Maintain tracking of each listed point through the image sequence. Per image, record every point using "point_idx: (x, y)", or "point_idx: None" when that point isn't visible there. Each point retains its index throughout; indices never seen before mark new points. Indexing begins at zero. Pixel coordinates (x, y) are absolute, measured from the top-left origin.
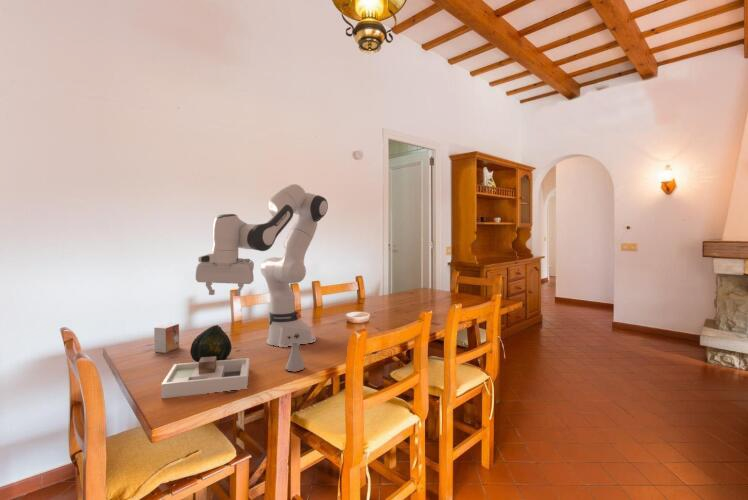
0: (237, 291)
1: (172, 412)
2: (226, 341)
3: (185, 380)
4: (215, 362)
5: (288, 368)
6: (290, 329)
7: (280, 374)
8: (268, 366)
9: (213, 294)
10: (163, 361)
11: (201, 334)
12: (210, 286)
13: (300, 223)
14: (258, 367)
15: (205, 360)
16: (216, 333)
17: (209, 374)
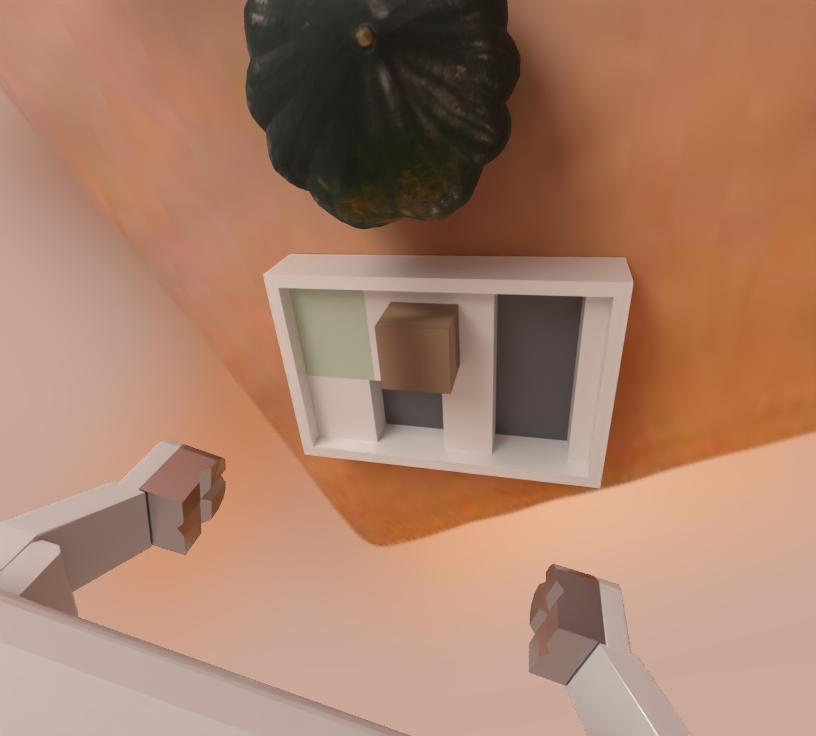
0: (574, 686)
1: (385, 504)
2: (481, 154)
3: (364, 404)
4: (453, 355)
5: None
6: None
7: (779, 356)
8: (747, 230)
9: (219, 474)
10: (138, 6)
11: (277, 111)
12: (77, 538)
13: None
14: (683, 232)
15: (406, 373)
16: (393, 158)
17: None
